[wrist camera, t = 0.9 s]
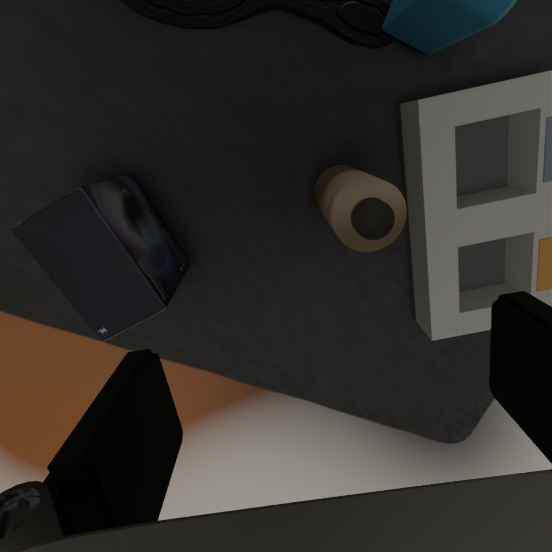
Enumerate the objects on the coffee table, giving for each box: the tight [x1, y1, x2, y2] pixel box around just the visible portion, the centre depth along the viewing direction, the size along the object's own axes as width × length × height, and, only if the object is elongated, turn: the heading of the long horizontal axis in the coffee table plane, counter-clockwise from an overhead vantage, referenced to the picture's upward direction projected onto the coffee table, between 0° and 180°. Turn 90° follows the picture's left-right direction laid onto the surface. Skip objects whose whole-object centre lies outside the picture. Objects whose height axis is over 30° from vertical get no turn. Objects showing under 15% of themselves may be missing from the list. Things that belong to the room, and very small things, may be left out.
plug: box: [313, 165, 407, 252], centre depth 30 cm, size 5×5×12 cm
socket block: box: [396, 70, 552, 341], centre depth 34 cm, size 22×12×5 cm, turn 12°
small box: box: [10, 173, 190, 342], centre depth 31 cm, size 11×6×10 cm, turn 28°
